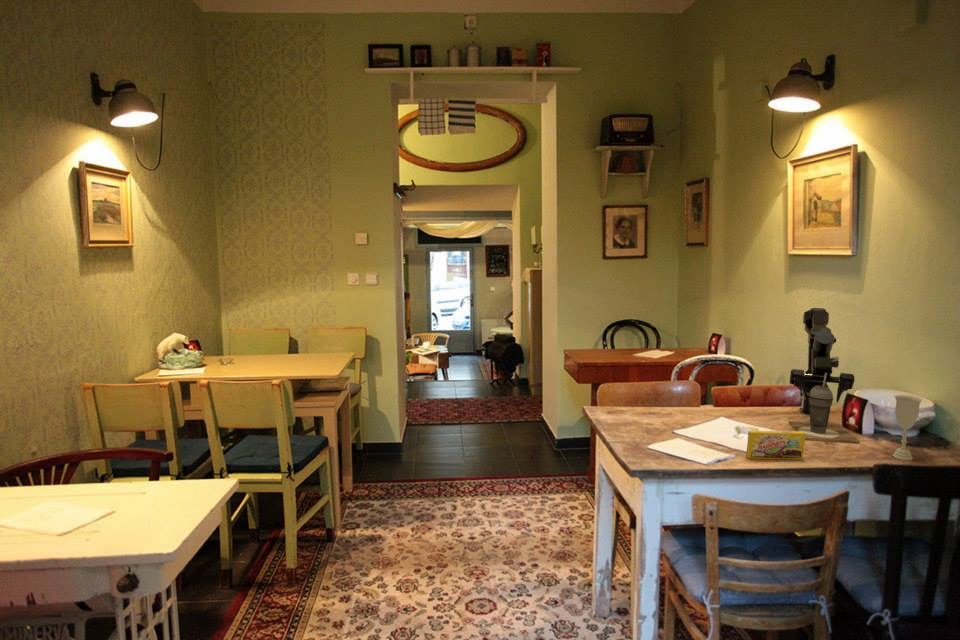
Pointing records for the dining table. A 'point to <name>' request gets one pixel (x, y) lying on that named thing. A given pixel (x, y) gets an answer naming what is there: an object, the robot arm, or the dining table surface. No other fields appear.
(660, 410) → the dining table surface
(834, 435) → the walnut board
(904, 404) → the chalice
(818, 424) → the beverage cup
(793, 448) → the candy box
